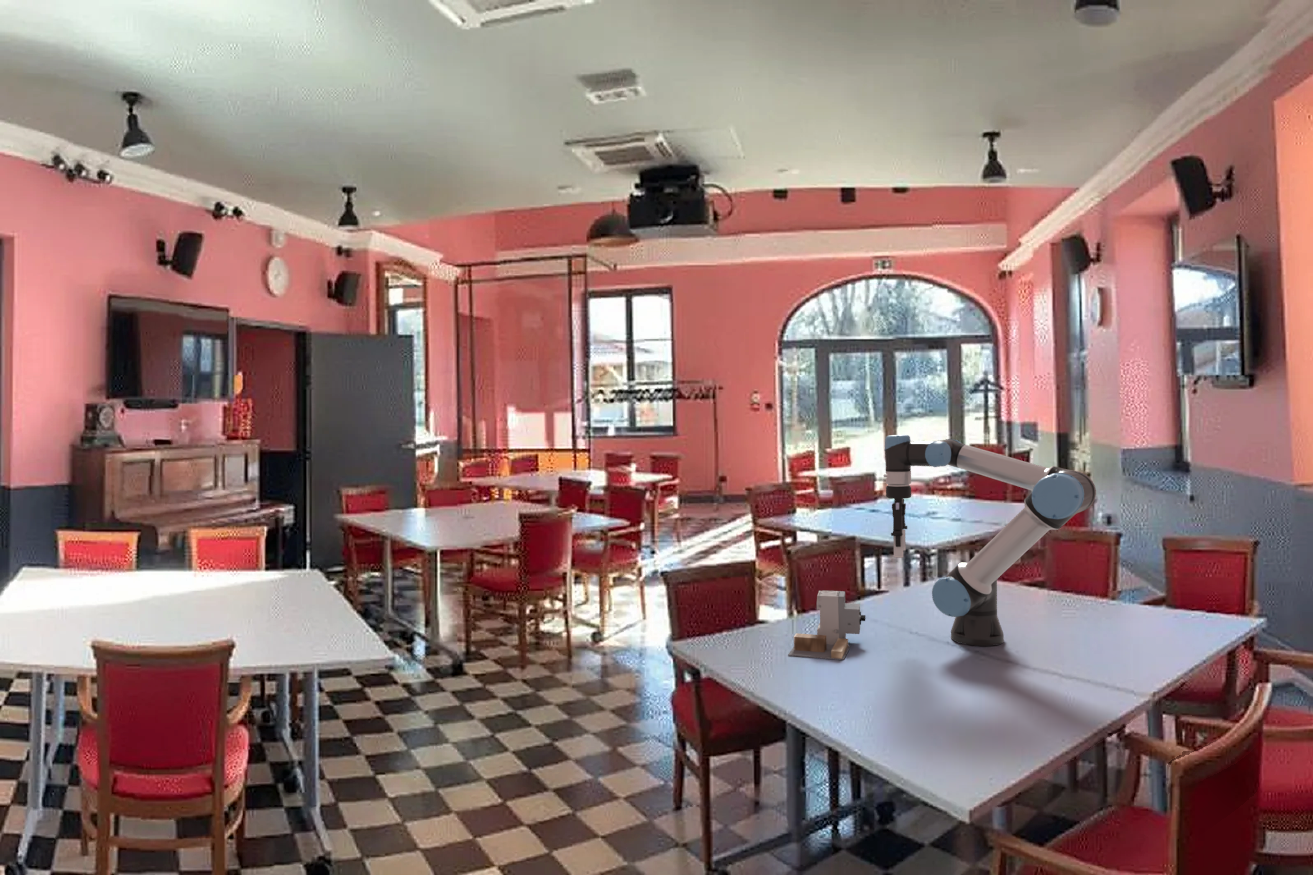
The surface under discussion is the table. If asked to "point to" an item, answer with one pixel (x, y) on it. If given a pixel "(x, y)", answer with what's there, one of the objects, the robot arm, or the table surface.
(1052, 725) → the table surface
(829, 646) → the mat
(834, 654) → the ledge
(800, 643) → the block
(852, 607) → the circuit breaker
